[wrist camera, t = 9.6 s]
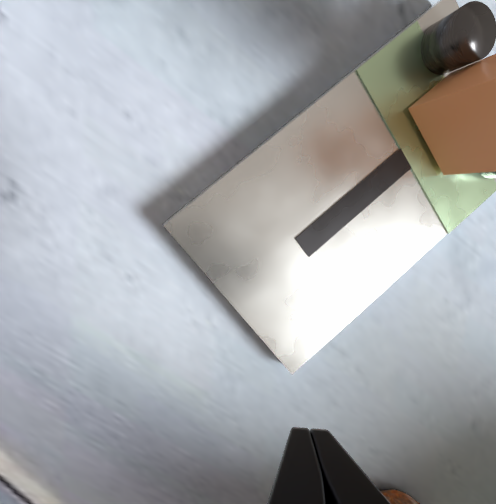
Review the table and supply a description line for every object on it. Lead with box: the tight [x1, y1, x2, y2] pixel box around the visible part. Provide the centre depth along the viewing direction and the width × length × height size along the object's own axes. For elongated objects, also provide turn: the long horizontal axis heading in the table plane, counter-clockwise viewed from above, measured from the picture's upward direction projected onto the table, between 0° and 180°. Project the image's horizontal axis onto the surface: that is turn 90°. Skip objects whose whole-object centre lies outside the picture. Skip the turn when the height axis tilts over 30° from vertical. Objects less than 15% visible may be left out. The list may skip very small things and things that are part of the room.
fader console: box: [163, 0, 496, 374], centre depth 17 cm, size 18×10×3 cm, turn 128°
